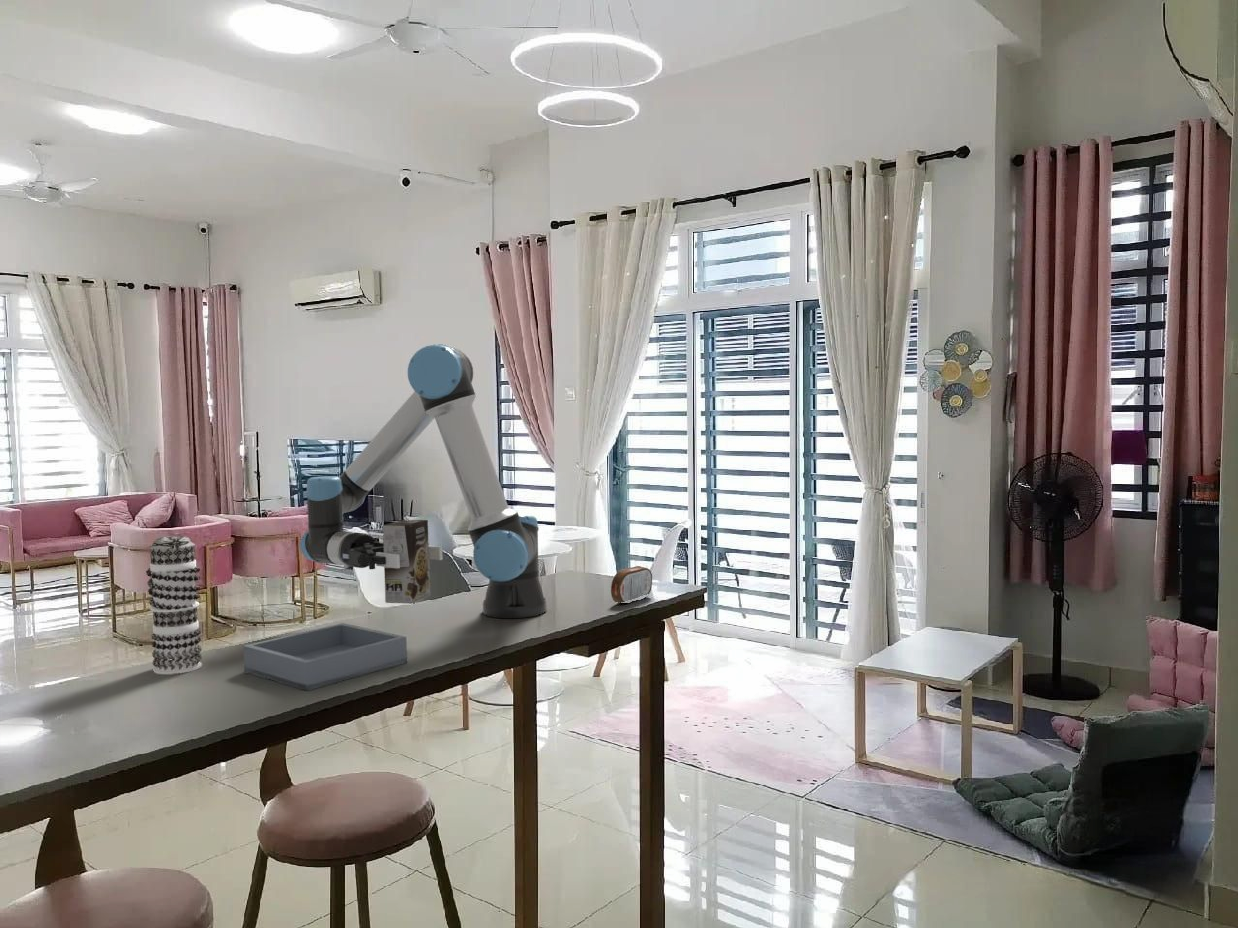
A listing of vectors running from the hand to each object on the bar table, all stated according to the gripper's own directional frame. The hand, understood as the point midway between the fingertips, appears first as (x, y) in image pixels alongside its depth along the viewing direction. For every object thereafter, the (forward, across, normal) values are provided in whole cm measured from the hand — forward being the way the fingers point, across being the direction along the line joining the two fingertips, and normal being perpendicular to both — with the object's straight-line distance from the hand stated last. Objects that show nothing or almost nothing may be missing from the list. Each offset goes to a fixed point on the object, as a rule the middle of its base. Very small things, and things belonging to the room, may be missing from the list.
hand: (420, 557), depth 191 cm
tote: (-3, +21, -18) cm, 28 cm away
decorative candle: (-26, +38, -18) cm, 50 cm away
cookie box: (-4, 0, -9) cm, 10 cm away
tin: (+9, -60, -19) cm, 63 cm away
